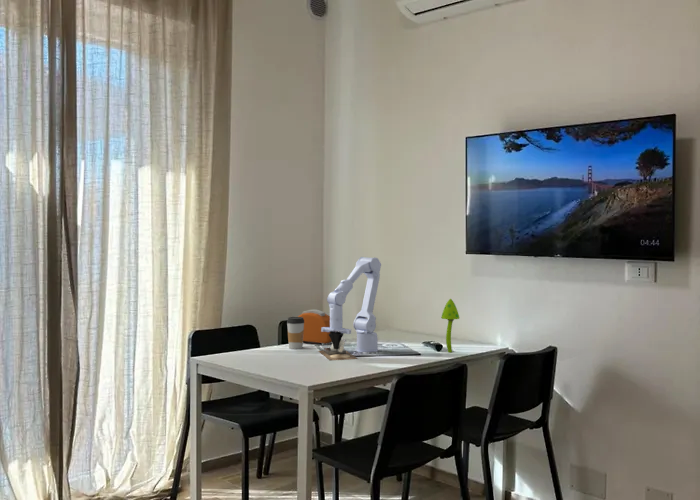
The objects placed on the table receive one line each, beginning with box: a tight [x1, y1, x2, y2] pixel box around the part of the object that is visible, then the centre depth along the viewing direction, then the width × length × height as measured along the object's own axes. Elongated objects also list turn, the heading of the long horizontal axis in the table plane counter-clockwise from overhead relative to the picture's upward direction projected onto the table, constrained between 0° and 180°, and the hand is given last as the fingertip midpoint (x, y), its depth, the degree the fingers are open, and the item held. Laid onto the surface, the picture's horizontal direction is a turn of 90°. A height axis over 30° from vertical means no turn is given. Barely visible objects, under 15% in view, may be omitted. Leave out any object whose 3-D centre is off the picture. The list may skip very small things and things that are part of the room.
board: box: [317, 349, 359, 361], centre depth 315 cm, size 13×24×1 cm, turn 15°
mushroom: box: [440, 298, 460, 353], centre depth 324 cm, size 8×8×25 cm
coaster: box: [330, 354, 350, 359], centre depth 310 cm, size 9×9×1 cm
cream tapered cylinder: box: [329, 337, 347, 352], centre depth 317 cm, size 9×5×6 cm, turn 14°
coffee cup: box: [286, 316, 304, 350], centre depth 332 cm, size 8×8×15 cm
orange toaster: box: [297, 309, 339, 346], centre depth 349 cm, size 23×9×17 cm, turn 59°
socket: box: [323, 347, 347, 355], centre depth 319 cm, size 8×8×2 cm
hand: (336, 348), depth 314 cm, fingers closed, pressing on cream tapered cylinder
